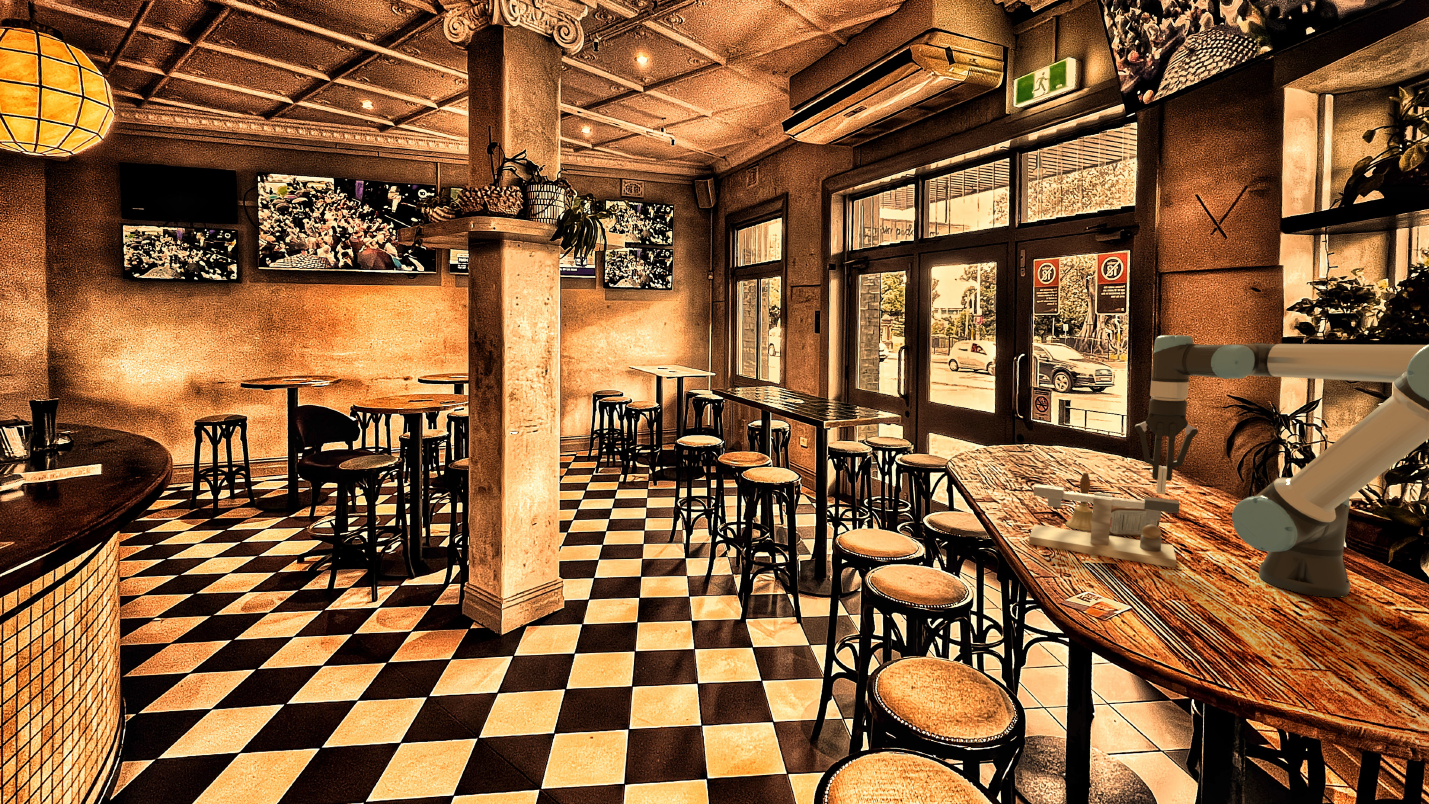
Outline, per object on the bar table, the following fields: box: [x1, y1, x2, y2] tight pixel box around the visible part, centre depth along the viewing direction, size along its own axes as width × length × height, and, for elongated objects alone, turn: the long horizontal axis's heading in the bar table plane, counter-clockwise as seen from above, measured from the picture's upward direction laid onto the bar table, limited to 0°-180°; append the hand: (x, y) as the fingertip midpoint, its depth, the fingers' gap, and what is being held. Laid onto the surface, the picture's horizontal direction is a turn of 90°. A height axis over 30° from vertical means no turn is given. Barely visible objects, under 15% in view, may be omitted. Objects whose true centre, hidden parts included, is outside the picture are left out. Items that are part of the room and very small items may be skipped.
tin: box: [1109, 505, 1161, 537], centre depth 177 cm, size 15×3×8 cm, turn 84°
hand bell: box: [1065, 472, 1093, 532], centre depth 184 cm, size 8×8×16 cm
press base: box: [1028, 492, 1177, 569], centre depth 166 cm, size 32×12×14 cm, turn 58°
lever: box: [1033, 483, 1180, 522], centre depth 166 cm, size 32×4×5 cm, turn 58°
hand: (1160, 492), depth 159 cm, fingers closed
